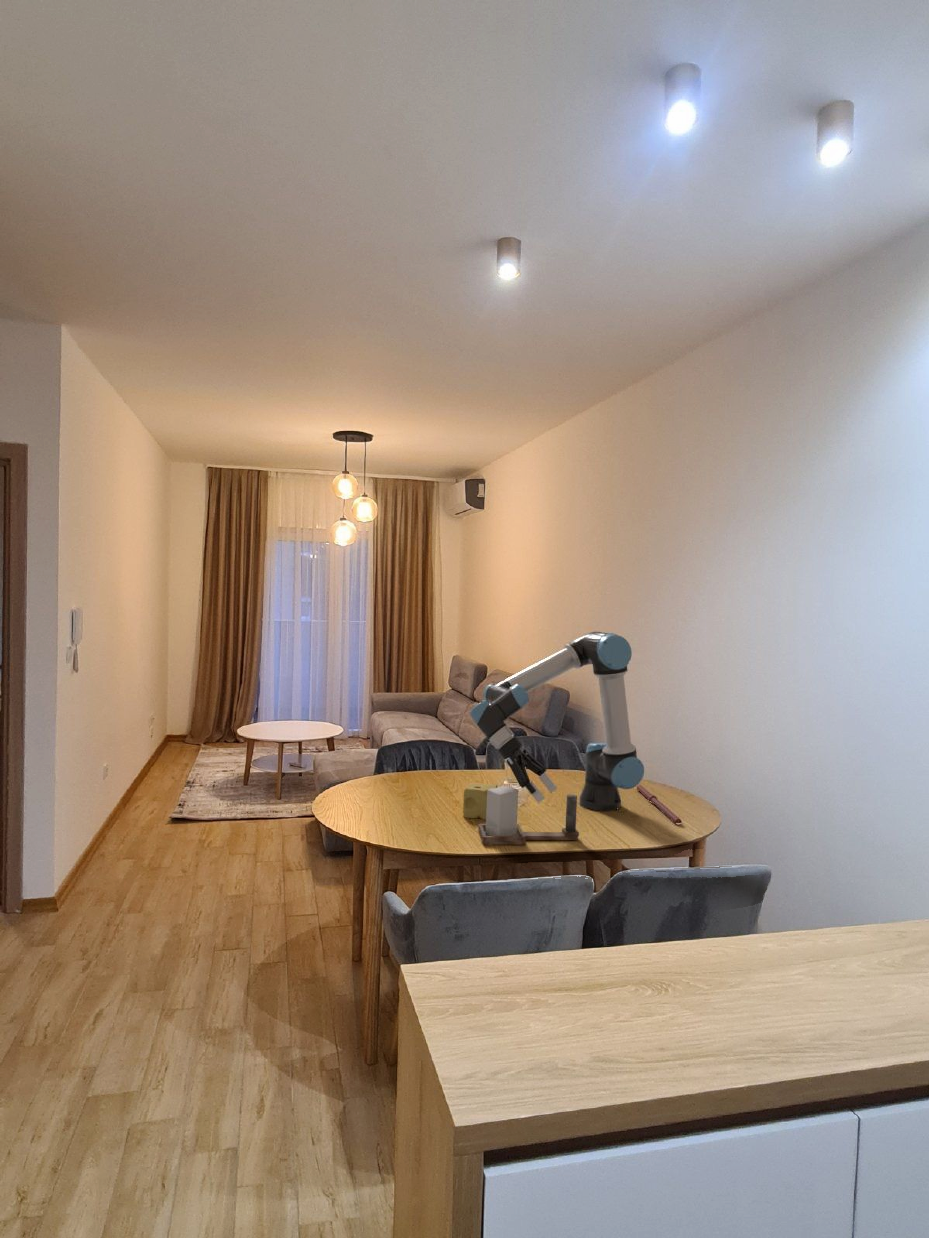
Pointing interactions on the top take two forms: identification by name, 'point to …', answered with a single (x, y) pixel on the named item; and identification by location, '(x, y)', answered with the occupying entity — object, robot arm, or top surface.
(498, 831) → the skincare box
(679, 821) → the reddish-brown rod
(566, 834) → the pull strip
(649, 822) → the top surface
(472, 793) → the cheese
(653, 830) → the top surface
